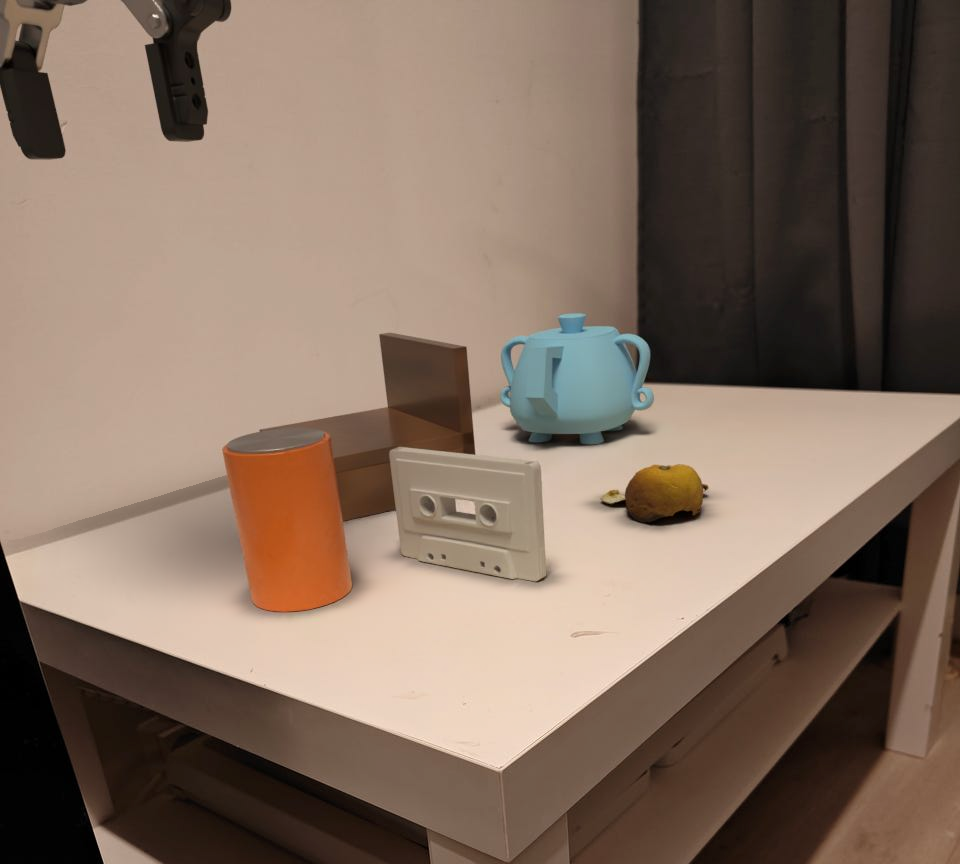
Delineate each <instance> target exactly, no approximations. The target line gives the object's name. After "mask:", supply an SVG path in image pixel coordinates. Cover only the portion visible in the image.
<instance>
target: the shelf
mask: <svg viewBox="0 0 960 864" xmlns="http://www.w3.org/2000/svg"><path fill="white" fill-rule="evenodd" d="M378 336H379V346H380V353H381V361H382V362H381V363H382V371H383V378H384V379H383V380H384V387H385V394H386V404H387V406H386V407H380V408H376V409H375V408H374V409H369V410H368V409H367V410H364V411H357V412H352V413H347V414H346V413H345V414H340V415H335V416H329V417H323V418H317V419H313V420H311V419H310V420H306V421H301V422H294V423H289V424H284V425H283V424H282V425H278V426H273V427H266V428H262V429H261V428H260V429H259V431H258V432H261V431H267V430H274V429H283V428H314V429H319V430H322V431H324V432H326V433H328V434H329V435H330V438H331V445H332V452H333V459H334V465H335V472H336V479H337V486H338V493H339V499H340V506H341V513H342V520H343V522H346V521H349V520H355V519H358V518H363V517H368V516H373V515H377V514H381V513H382V514H383V513H385V512H390V511H394V510H395V511H396V506H395V498H394V490H393V481H392V473H391V465H390V457H389V453H390V451H391V450H393V449H395V448H398V447H406V448H415V449H425V450H434V451H444V452H453V453H463V454H472V455H476V446H475V445H476V444H475V433H474V432H475V431H474V421H473V409H472V408H473V407H472V396H471V384H470V372H469V361H468V348H467V346H465V345H459V344H454V343H448V342H444V341H439V340H433V339H427V338H421V337H416V336H411V335H405V334H401V333H395V332H383V333H379V334H378Z"/></svg>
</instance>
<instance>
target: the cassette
mask: <svg viewBox="0 0 960 864" xmlns="http://www.w3.org/2000/svg"><path fill="white" fill-rule="evenodd" d="M389 457H390V465H391V473H392V481H393V490H394V498H395V506H396V509H395V513H396V521H397V529H398V538H399V548H400V553H401V554H402V556H404V557H407V558H412V559H417V561H418V562H423V563H428V564H432V565H438V566H444V567H448V568H454V569H459V570H462V571H463V570H464V571H469V572H474V573H479V574H485V575H489V576H496V577H501V578H506V579H509V580H510V579H511V580H515V579H520V580H525V581H530V582H538V581H539V580H541V579H543V578H545V577H546V576H547V561H546V558H547V557H546V543H545V541H546V540H545V539H546V538H545V523H544V521H545V520H544V503H543V483H542V482H543V481H542V466H541V464H540V462H539V461H536V460H529V459H528V460H527V459H521V458H510V457H501V456H491V455H481V454H475V455H472V454H463V453H453V452H444V451H434V450H425V449H415V448H406V447H398V448H395V449H393V450H391V451H390V453H389ZM456 500H462V501H467V502H474V512H475V513H468V512H463V511H457V505H456Z"/></svg>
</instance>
